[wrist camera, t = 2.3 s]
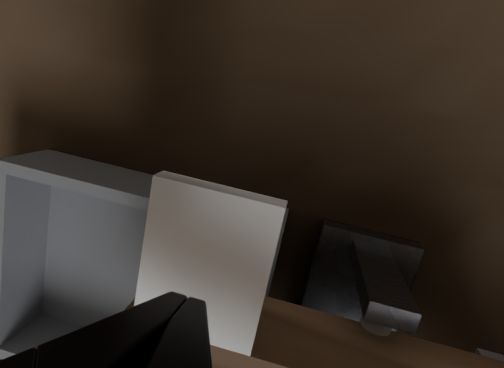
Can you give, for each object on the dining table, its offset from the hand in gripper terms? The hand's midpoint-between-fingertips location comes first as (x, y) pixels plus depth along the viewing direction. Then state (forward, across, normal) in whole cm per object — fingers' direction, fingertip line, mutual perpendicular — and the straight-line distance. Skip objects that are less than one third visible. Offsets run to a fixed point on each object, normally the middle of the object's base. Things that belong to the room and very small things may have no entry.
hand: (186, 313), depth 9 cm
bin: (+12, +5, +6) cm, 15 cm away
